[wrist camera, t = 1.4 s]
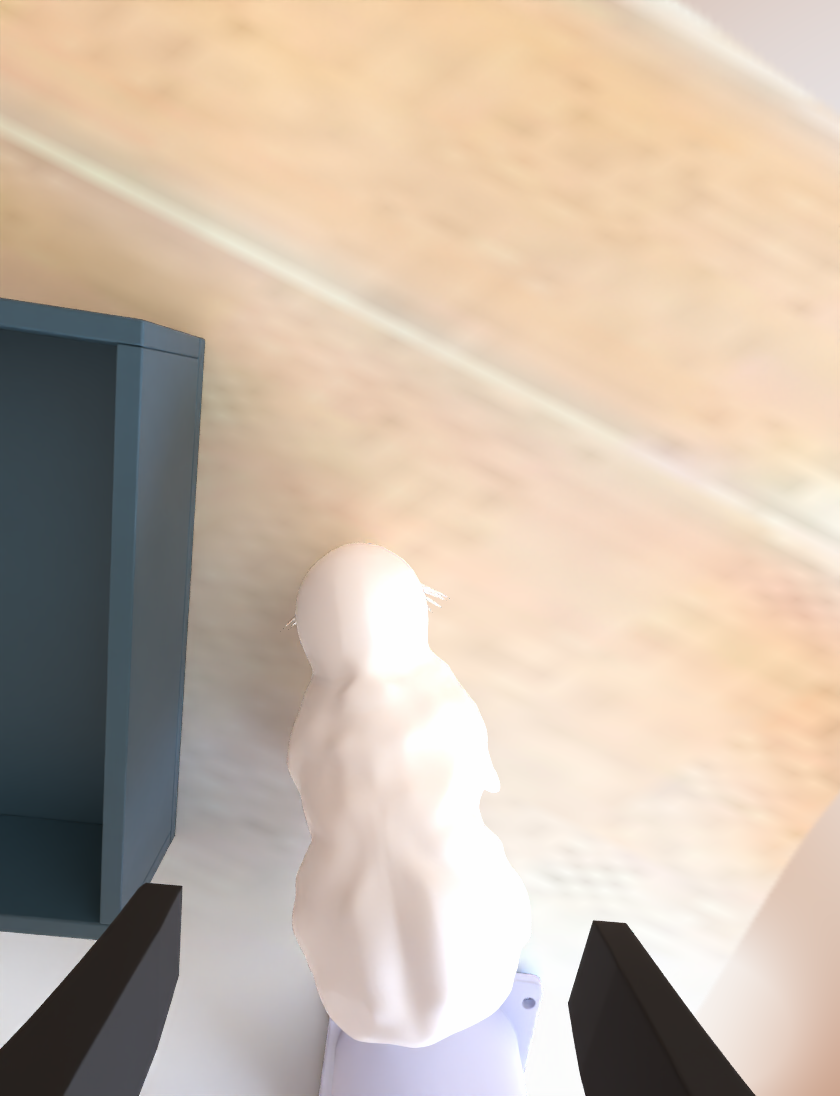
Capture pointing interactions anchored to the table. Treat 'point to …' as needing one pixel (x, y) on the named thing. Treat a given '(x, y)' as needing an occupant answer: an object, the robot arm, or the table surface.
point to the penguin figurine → (395, 815)
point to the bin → (91, 606)
